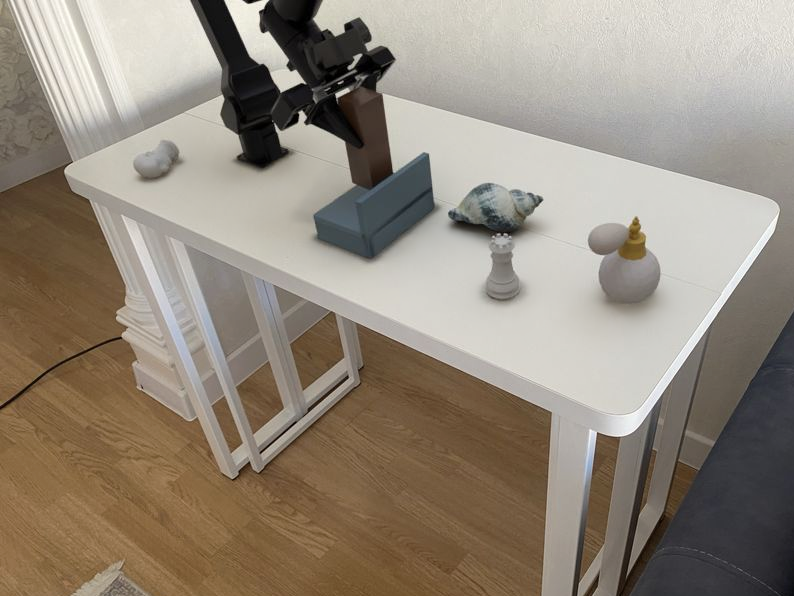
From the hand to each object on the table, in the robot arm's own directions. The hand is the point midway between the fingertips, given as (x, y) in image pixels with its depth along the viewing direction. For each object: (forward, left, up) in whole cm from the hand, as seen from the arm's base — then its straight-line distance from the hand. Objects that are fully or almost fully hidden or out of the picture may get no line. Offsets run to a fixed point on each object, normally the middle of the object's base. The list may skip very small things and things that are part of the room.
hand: (373, 140), depth 97 cm
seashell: (+14, +8, -14) cm, 21 cm away
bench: (-2, 0, -13) cm, 14 cm away
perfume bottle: (+37, +2, -14) cm, 39 cm away
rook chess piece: (+23, -4, -14) cm, 27 cm away
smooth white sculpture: (-44, -6, -14) cm, 47 cm away
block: (-1, 0, -7) cm, 7 cm away
